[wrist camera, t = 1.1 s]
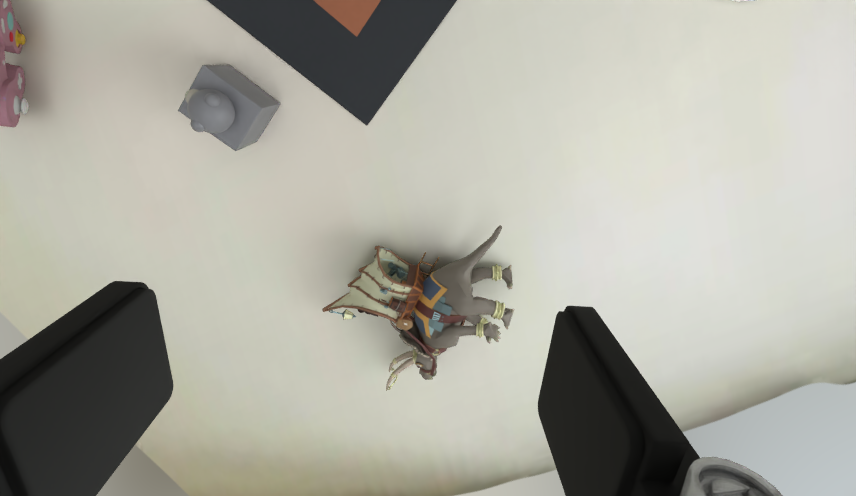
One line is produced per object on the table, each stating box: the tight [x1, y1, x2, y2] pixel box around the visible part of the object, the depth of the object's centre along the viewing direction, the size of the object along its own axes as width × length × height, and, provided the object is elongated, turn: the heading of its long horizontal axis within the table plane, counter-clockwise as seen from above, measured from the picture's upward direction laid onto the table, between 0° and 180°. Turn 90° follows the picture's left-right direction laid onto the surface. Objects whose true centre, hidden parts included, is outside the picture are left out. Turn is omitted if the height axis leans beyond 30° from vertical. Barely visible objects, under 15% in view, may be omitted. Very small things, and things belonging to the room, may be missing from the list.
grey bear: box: [178, 65, 280, 151], centre depth 32 cm, size 4×5×7 cm
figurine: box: [323, 226, 514, 391], centre depth 40 cm, size 20×6×17 cm
